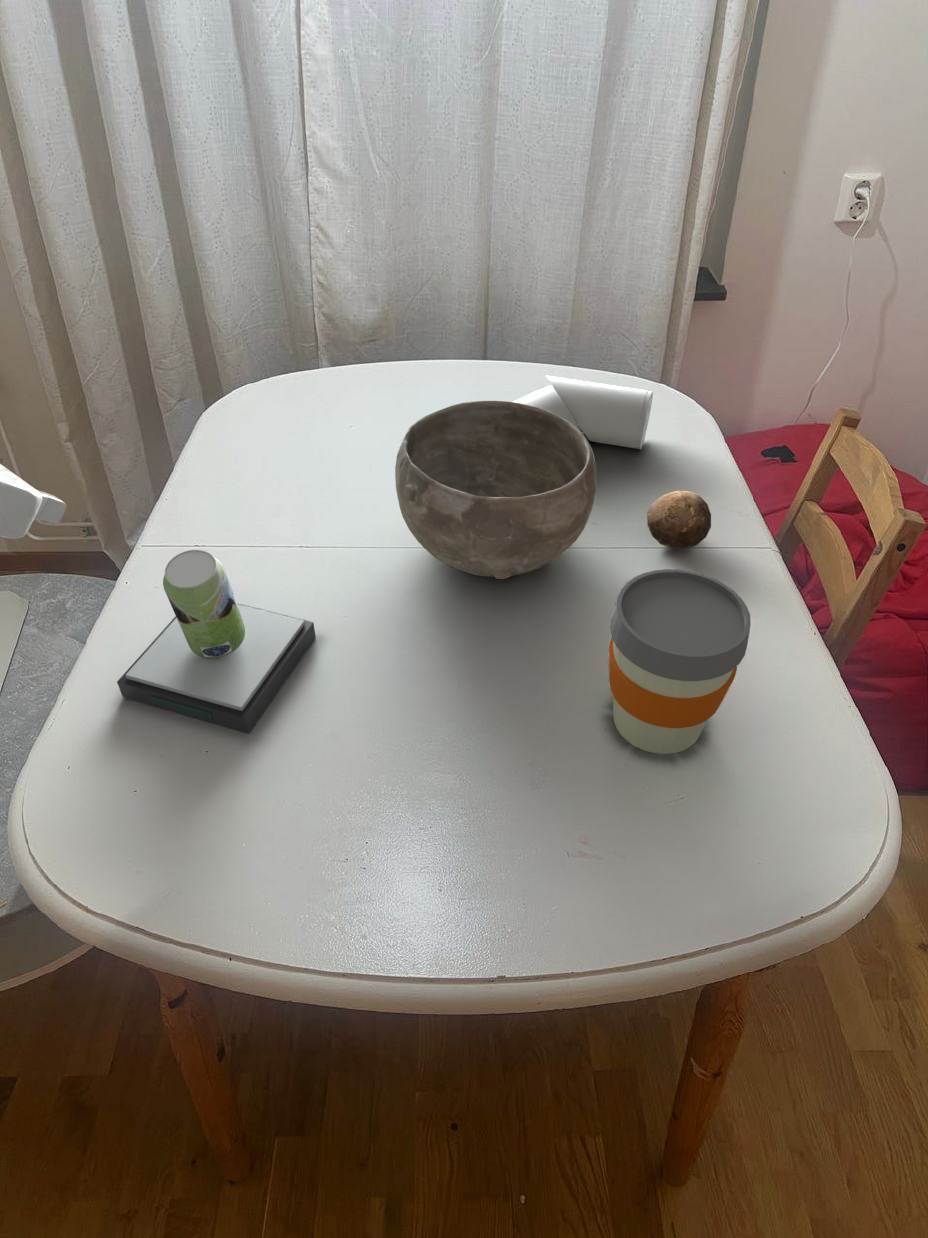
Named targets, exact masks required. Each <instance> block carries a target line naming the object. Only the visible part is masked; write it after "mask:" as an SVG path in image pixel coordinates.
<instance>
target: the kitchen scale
mask: <svg viewBox="0 0 928 1238" xmlns="http://www.w3.org/2000/svg"><path fill="white" fill-rule="evenodd" d="M236 603H237V606H238V609H239V612H240V615H241V618H242V621H243V624H244V627H245V637H244V640H243V642H242V643H241V645H240V646H239V647H238V648H237V649H236V650H235V651H234V652H232V653H230V654H229V655H226V656H224V657H220V658H213V659H209V658H203V657H200V656H198V655H196V654H195V653H194V652H193V651H192V650H191V649H190V647H189V645H188V643H187V640H186V638H185V636H184V633H183V631H182V629H181V627H180V624H179V622H178V620H177V617H176V615H175V616H174V617H173V618H172V619H171V621H170V622H169V623H168V624H167V625H166V627H164V628H163V630H162V631H161V632H160V633H159V634H158V635H157V636H156V637H155V638H154V640H153V641H152V642H151V643H150V644H149V645H148V647H147V648H145V650H144V651H143V652H142V653H141V654H140V656H138V658H137V659H136V660H135V661H134V662H133V663H132V664H131V665H130V667H128V669H127V670H126V671H125V672H124V673H123V674H122V676H120V678H119V679H118V680H117V681H116V683H117V686H118V689H119V691H120V694H121V697H122V698H123V699H126V700H130V701H134V702H137V703H140V704H144V705H148V706H151V707H154V708H158V709H161V710H164V711H168V712H171V713H175V714H178V715H183V716H186V717H188V718H192V719H196V720H199V721H202V722H206V723H209V724H214V725H216V726H220V727H224V728H228V729H230V730H234V731H238V732H241V733H245V734H248V735H249V734H251V732H252V731H253V729H254V727H255V726H256V725H257V723H258V722H259V720H260V719H261V718H262V716H263V715H264V713H265V712H266V710H267V709H268V707H269V706H270V705H271V703H273V702H272V701H273V700H274V699H275V698H276V696H277V694H278V693H279V692H280V690H281V689H282V687H283V686H284V684H285V683H286V681H288V679H289V677H290V676H291V674H292V673H293V671H294V670H295V669H296V667H297V666H298V665H299V663H300V661H301V660H302V658H303V657H304V656H305V654H306V653H307V652H308V650H309V648H310V647H311V645H312V644H313V643H314V641H315V640H316V638H317V636H316V630H315V629H316V628H315V624H314V621H312V620H306V619H304V618H303V619H302V618H298V617H294V616H291V615H287V614H283V613H278V612H275V611H271V610H266V609H262V608H259V607H254V606H250V605H246V604H242V603H238V602H236Z"/></svg>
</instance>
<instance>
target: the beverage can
mask: <svg viewBox="0 0 928 1238" xmlns="http://www.w3.org/2000/svg"><path fill="white" fill-rule="evenodd" d="M162 586H163V590H164V592H165V594H166V597H167V599H168V601H169V604H170V606H171V609H172V611H173V612H174V615H175V616H176V617H177V620H178V622H179V624H180V627H181V629H182V631H183V633H184V636H185V638H186V640H187V643H188V645H189V647H190V649H191V650H192V651H193V652H194V653H195V654H196V655H198V656H200V657H203V658H209V659H213V658H220V657H224V656H226V655H229V654H230V653H232V652H234V651H235V650H236V649H237V648H238V647H239V646H240V645H241V643H242V642H243V640H244V637H245V627H244V624H243V621H242V618H241V615H240V612H239V609H238V606H237V603H238V602H237V600H236V597H235V594H234V591H233V588H232V586H231V583H230V580H229V577H228V574H227V572H226V568H225V566H224V565H223V563H222V562H221V561H220V560H219V559H217V558H216V557H214V556H213V554H211V553H210V552H208V551H206V550H202V549H190V550H186V551H182V552H180V553H177V554H176V555H175V556H173V557H172V558H171V559H170V560H169V561H168V562H167V564H166V566H165V569H164V575H163V578H162Z"/></svg>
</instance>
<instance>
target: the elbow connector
mask: <svg viewBox="0 0 928 1238" xmlns="http://www.w3.org/2000/svg"><path fill="white" fill-rule="evenodd" d="M545 377H546V378H547V381H549V383H550V384H549V385H547V386H545V387H543V388H540V389H538V390H535V391H533V392H531V393H529V394H527V395H524V396H523V397H520V398H518V399H516V400H514V401H512V402H516V403H521V404H525V405H530V406H533V407H537V408H540V409H543V410H547V411H550V412H552V413H554V414H556V415H558V416H560V417H562V418H563V419H565V420H567V421H568V422H570V423H571V424H572V425H574V426H575V427H576V428H577V429H578V430H579V431H580V432H581V433H582V434H584V436H585V437H586V438H587V440H588V441H590V442H595V443H599V444H606V445H611V446H612V445H613V446H618V447H624V448H631V449H637V450H642V449H643V446H644V443H645V438H646V435H647V430H648V426H649V421H650V415H651V409H652V404H653V396H654V392H653V390H646V389H641V388H632V387H626V386H620V385H613V384H608V383H607V384H606V383H599V382H593V381H587V380H586V381H585V380H578V379H572V378H566V377H558V376H553V375H545Z"/></svg>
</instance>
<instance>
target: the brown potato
mask: <svg viewBox="0 0 928 1238" xmlns="http://www.w3.org/2000/svg"><path fill="white" fill-rule="evenodd" d="M646 520H647V525H646V526H647V528H648V530H649V532H650V534H651V537H652V538H653V539H654V540H656V541H657V542H658V543H659V544H660V545H661V546H665V547H667V548H670V549H687V548H693V547H696V546H698V545H699V544H700V543H701V542H702V541H704V540H705V539H706V538H707V536H708V534H709V533H710V530H711V528H712V513H711V510H710V507H709V505H708V503H707V501H705V499H704V498H703V497H702V496H701V495H700V494H697V493H695V492H692V491H689V490H675V491H672V492H668V493H665V494H663V495H661V496H660V497H658V498H657V499H656V500H654V501H653V502H652V503H651V506H650V507H649V509H648V510H647V512H646Z"/></svg>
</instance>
